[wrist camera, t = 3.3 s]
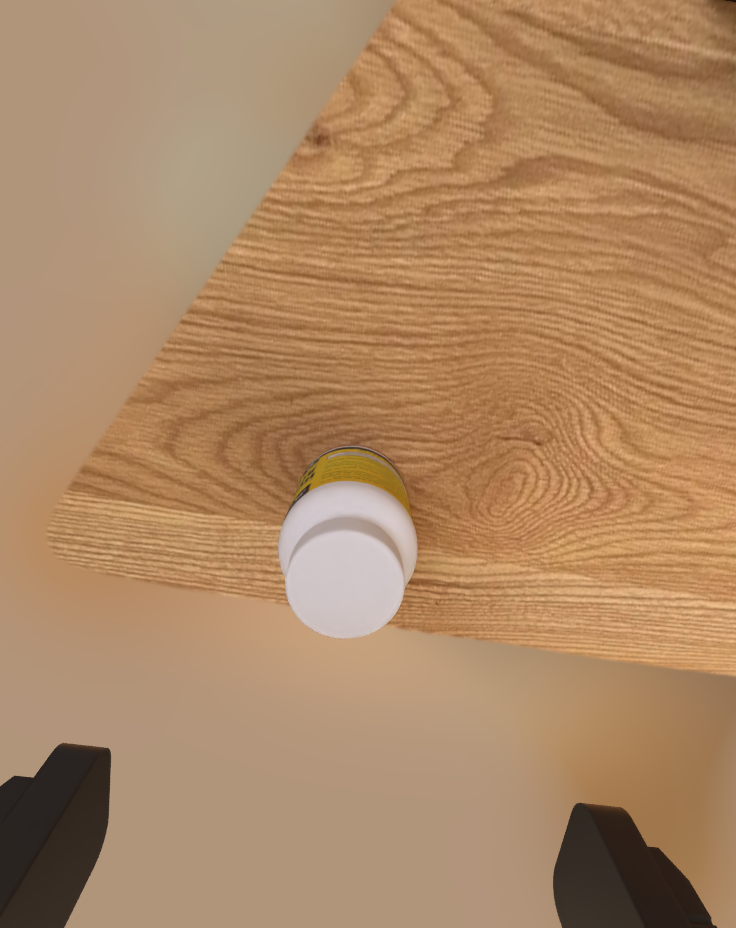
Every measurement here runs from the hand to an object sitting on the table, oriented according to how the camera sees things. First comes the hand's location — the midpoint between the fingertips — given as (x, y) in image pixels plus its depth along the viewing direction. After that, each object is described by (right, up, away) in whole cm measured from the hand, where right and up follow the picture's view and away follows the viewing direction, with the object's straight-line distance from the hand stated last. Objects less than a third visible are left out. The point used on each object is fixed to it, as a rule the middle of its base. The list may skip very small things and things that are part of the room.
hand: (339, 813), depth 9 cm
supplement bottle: (0, +4, +18) cm, 19 cm away
